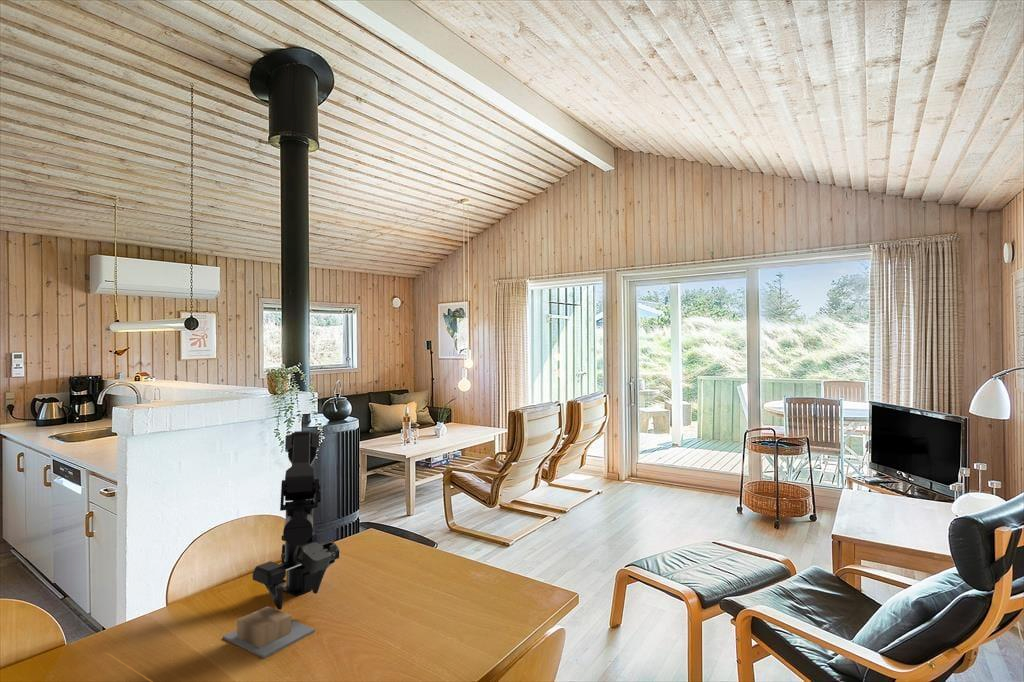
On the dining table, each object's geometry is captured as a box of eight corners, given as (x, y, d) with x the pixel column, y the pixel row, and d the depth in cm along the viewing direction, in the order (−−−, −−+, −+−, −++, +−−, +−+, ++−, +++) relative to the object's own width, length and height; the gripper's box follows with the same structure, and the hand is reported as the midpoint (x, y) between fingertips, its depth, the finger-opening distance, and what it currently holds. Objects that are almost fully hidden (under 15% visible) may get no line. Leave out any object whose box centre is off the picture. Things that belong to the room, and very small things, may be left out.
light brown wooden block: (267, 623, 117) (237, 637, 111) (267, 606, 117) (237, 619, 111) (291, 632, 113) (260, 648, 107) (291, 615, 113) (260, 629, 107)
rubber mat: (222, 638, 112) (222, 635, 112) (274, 614, 122) (274, 612, 122) (264, 658, 105) (264, 655, 105) (315, 631, 115) (315, 629, 115)
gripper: (285, 550, 108) (283, 628, 107) (356, 525, 123) (355, 593, 123) (251, 539, 113) (250, 614, 113) (324, 517, 129) (322, 582, 129)
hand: (297, 600), depth 119 cm, fingers open, 9 cm apart
